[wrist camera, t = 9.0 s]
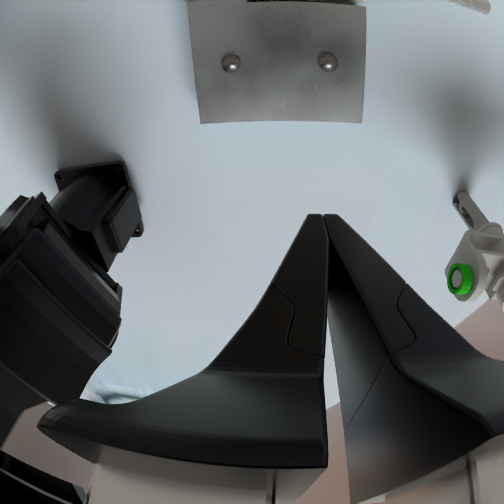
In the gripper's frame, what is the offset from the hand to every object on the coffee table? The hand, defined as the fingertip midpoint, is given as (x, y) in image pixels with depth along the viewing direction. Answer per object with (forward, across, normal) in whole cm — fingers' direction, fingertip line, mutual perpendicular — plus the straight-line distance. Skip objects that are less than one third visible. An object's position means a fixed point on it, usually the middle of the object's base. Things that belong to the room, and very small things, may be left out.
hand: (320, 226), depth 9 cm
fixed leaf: (+12, -2, -5) cm, 13 cm away
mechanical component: (+12, -13, +6) cm, 19 cm away
